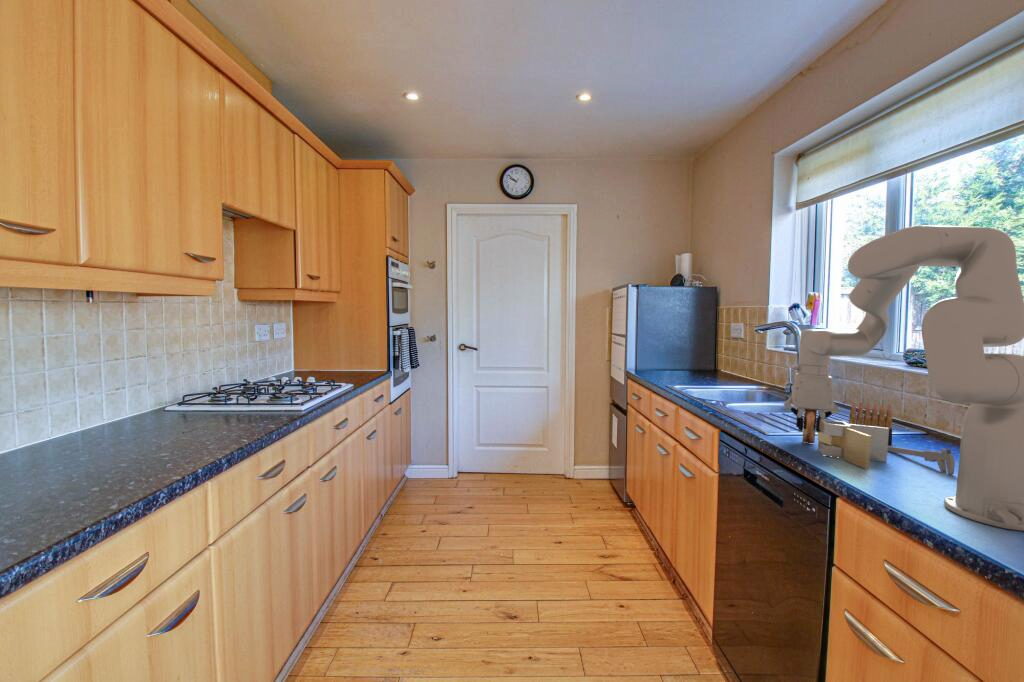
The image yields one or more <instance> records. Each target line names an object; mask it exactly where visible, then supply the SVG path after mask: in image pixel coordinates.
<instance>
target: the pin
mask: <svg viewBox="0 0 1024 682" xmlns="http://www.w3.org/2000/svg"><path fill="white" fill-rule="evenodd" d="M803 413H804V414H803V419H804V420H803V431H802V441H804V442H808V443H814V444H815V440H816V419H817V413H818V410H813V409H804V410H803Z"/></svg>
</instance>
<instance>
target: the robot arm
mask: <svg viewBox="0 0 1024 682" xmlns="http://www.w3.org/2000/svg"><path fill="white" fill-rule="evenodd" d="M920 267H928V268H930V267H932V268H933V267H937V268H939V267H940V268H941V267H945V268H949V267H950V268H951V267H952V268H953V267H954V268H955V267H959V269H958V271H957V273H956V276H955V279H954V280H955V281H954V288H955V293H956V297H948V298H944V299H941V300H938V301H937V302H934V304H932V305H931V306H929V308H928V309H927V310H926V312H925V313H924V316H923V319H922V320H921V321H922V322H921V337H922V343H923V351H924V358H925V361H926V369H927V374H928V379H929V382H930V384H931V387H932V388H933V390H934V391H935V393H936V394H937V395H938V396H939V397H940V398H942V399H943V400H946V401H948V402H950V403H951V402H952V403H956V404H961V405H963V404H964V405H969V407H968V408H967V409H966V412H965V415H964V418H963V420H962V430H961V437H960V447H959V456H958V457H959V459H958V468H957V469H958V470H957V478H956V479H957V481H956V491H955V495H951V496H946V497H945V498H944V500H943V503H944V504H943V505H944V506H945V507H946V508H947V509H948V510H949V511H951V512H953V513H955V514H957V515H959V516H961V517H964V518H967V519H969V520H972V521H975V522H978V523H981V524H986V525H988V526H991V527H992V526H993V527H996V528H1002V529H1007V530H1011V531H1012V530H1013V531H1020V532H1021V531H1022V532H1024V355H1020V354H1015V353H985V350H984V349H985V348H998V347H1001V348H1002V347H1007V346H1013V345H1016V344H1017V343H1020V342H1021V341H1022V340H1023V339H1024V296H1023V291H1022V286H1021V282H1020V279H1019V273H1018V265H1017V250H1016V245H1015V243H1014V241H1013V239H1012V238H1011V237H1010V236H1009V235H1008V234H1007V233H1006V232H1004V231H1002V230H999V229H996V228H991V227H984V226H982V227H981V226H964V225H963V226H962V225H959V226H958V225H929V224H927V225H926V224H925V225H923V224H921V225H913V226H912V225H911V226H907V227H904V228H901V229H899V230H896V231H894V232H891V233H887V234H885V235H883V236H880V237H878V238H875V239H873V240H871V241H868V242H866V243H864V244H862V245H860V246H859V247H857V248H856V249H855V250H854V251H853V253H851V255H850V256H849V258H848V262H847V270H848V272H849V274H850V275H851V276H853V278H856V279H859V280H858V282H857V283H856V285H855V286H854V287H853V289H851V291H850V293H849V296H848V297H849V298H848V300H849V301H850V302H851V303H852V305H854V306H855V307H856V308H858V309H859V310H861V312H862V311H863V312H864V313H865V314H864V318H863V319H862V321H861V322H860V324H859V325H858V326H857V327H856V328H855V329H819V328H818V329H817V328H816V329H815V328H812V329H811V328H809V329H808V328H806V329H803V330H802V331H801V333H800V341H799V351H798V352H799V354H798V356H799V357H798V363H797V364H796V365H792V370H793V371H796V372H797V373H795V374H794V377H793V382H792V386H791V393H790V394H791V395H790V396H789V398H787V400H785V402H784V403H783V406H784V407H785V408H786V409H787V410H789V411H790V412H792V413H793V414H794V415H795V416H796V422H795V427H796V428H797V429H798V431H799V432H803V426H804V415H803V413H804V411H805V409H813V410H817V413H818V416H817V417H816V429H815V432H816V433H817V434H818V432H821V431H820V430H819V426H820V419H825V420H827V419H828V418H829V417H831V416H832V415H835V414H837V413H839V412H840V408H839V407H838V406H837V404H836V403H835V401H834V399H835V398H834V396H835V395H834V394H835V393H834V379H833V376H831V375H830V365H831V364H830V363H831V357H832V358H833V357H835V358H838V357H839V358H841V357H842V358H843V357H844V358H845V357H846V358H847V357H848V358H849V357H852V358H853V357H855V358H859V357H863V356H865V355H868V354H869V353H870V352H871V351H873V349H874V348H875V347H876V346H877V345H878V344H879V343H880V342H881V341H882V339H883V338H884V336H885V334H887V330H888V326H889V314H888V311H887V310H888V308H889V307H890V305H891V304H893V302H894V300H895V299H896V298H897V296H898V295H899V294H900V293H901V292H902V290H903V289H904V288H905V286H906V285H907V284H908V283H909V282H910V280H911V279H912V278H913V276H914V275H915V274H916V273H917V271H918V270H919V269H920Z"/></svg>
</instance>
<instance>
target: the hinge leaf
mask: <svg viewBox="0 0 1024 682" xmlns="http://www.w3.org/2000/svg"><path fill="white" fill-rule="evenodd" d="M818 440H819V441H821V442H824V443H826V444H828V445H831V446H840V447H843V448H844V457H843V459H842V460H844V461H847V462H849V463H851V464H852V465H855V466H858V467H859V468H862V469H864V470H869V469H870V461H871V460H870V447H871V436H870V435H867V434H864V433H862V432H859V431H856V430H853V429H850V428H846V431H845V437H841V436H832V435H824V434H823V433H822V432H818V433H817V441H818Z"/></svg>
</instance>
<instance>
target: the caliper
mask: <svg viewBox="0 0 1024 682" xmlns="http://www.w3.org/2000/svg"><path fill="white" fill-rule="evenodd" d="M887 450H888V451H887V452H889V451H890V452H889V453H896V454H902V455H908V456H915V457H920V458H923V459H924V461H925V462H930V463H931V462H933V463H934V462H936V463H937V467H938V468H939V471H940V472H941V473H947V475H954V474H955V465H956V462H955V457H954V454H953V453H952V452H951V449H950V448H947V449H946V448H941V449H940V450H941V451H935V450H927V449H926V450H916V449H910V448H905V447H904V448H903V447H899V446H898V447H897V446H892V445H888V448H887Z"/></svg>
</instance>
